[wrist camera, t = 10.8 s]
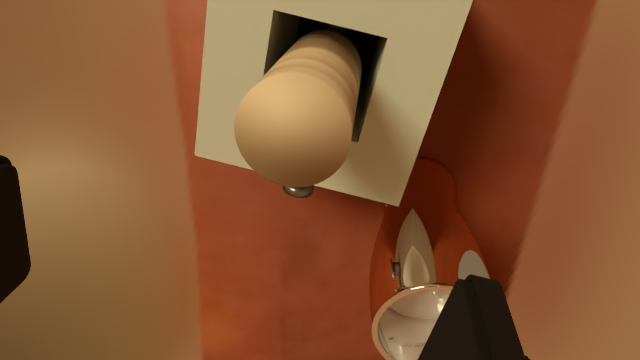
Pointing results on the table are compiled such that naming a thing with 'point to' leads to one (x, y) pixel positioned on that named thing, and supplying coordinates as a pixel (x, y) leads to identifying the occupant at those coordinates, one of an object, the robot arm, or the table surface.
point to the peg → (302, 111)
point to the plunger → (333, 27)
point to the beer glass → (418, 261)
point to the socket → (373, 101)
